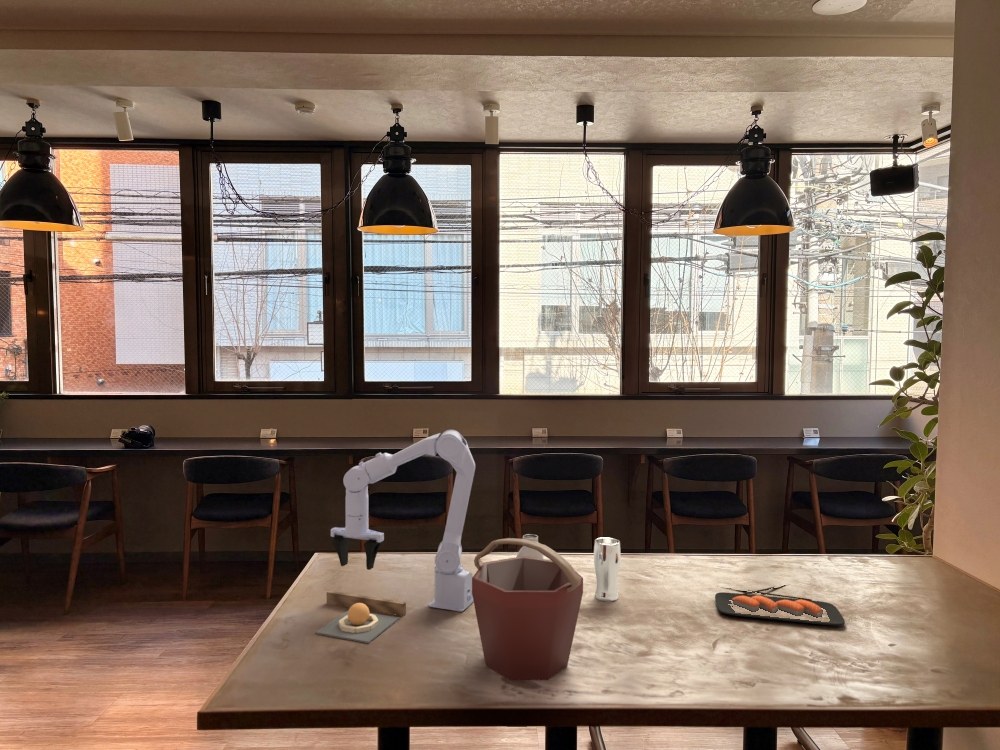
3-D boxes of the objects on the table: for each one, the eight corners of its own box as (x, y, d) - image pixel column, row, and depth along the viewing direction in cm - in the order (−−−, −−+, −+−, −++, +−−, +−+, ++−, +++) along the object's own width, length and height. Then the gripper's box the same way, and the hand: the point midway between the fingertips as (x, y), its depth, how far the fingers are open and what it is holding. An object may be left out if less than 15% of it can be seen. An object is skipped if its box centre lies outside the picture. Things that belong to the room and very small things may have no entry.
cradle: (399, 619, 157) (399, 613, 157) (369, 643, 144) (369, 637, 144) (349, 610, 162) (349, 605, 162) (315, 633, 149) (315, 627, 149)
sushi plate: (717, 619, 160) (718, 604, 160) (709, 578, 189) (709, 565, 189) (848, 633, 153) (849, 617, 153) (818, 588, 182) (819, 574, 182)
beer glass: (618, 593, 176) (619, 537, 175) (621, 602, 169) (621, 545, 168) (592, 591, 176) (593, 536, 176) (593, 601, 169) (594, 544, 169)
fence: (405, 614, 160) (405, 602, 160) (403, 616, 159) (403, 604, 159) (329, 602, 168) (329, 590, 168) (326, 603, 166) (326, 592, 166)
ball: (370, 619, 156) (370, 599, 156) (368, 628, 151) (368, 607, 151) (349, 620, 155) (349, 599, 155) (346, 629, 150) (346, 608, 150)
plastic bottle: (541, 624, 155) (542, 541, 154) (513, 621, 156) (514, 539, 155) (545, 613, 161) (546, 533, 160) (518, 611, 163) (519, 531, 162)
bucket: (450, 654, 139) (450, 538, 138) (526, 627, 153) (527, 521, 152) (527, 702, 120) (529, 568, 120) (607, 666, 135) (608, 546, 134)
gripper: (390, 512, 167) (389, 565, 168) (341, 507, 172) (341, 558, 173) (375, 519, 161) (375, 574, 161) (325, 514, 166) (325, 567, 166)
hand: (357, 566), depth 167 cm, fingers open, 7 cm apart
